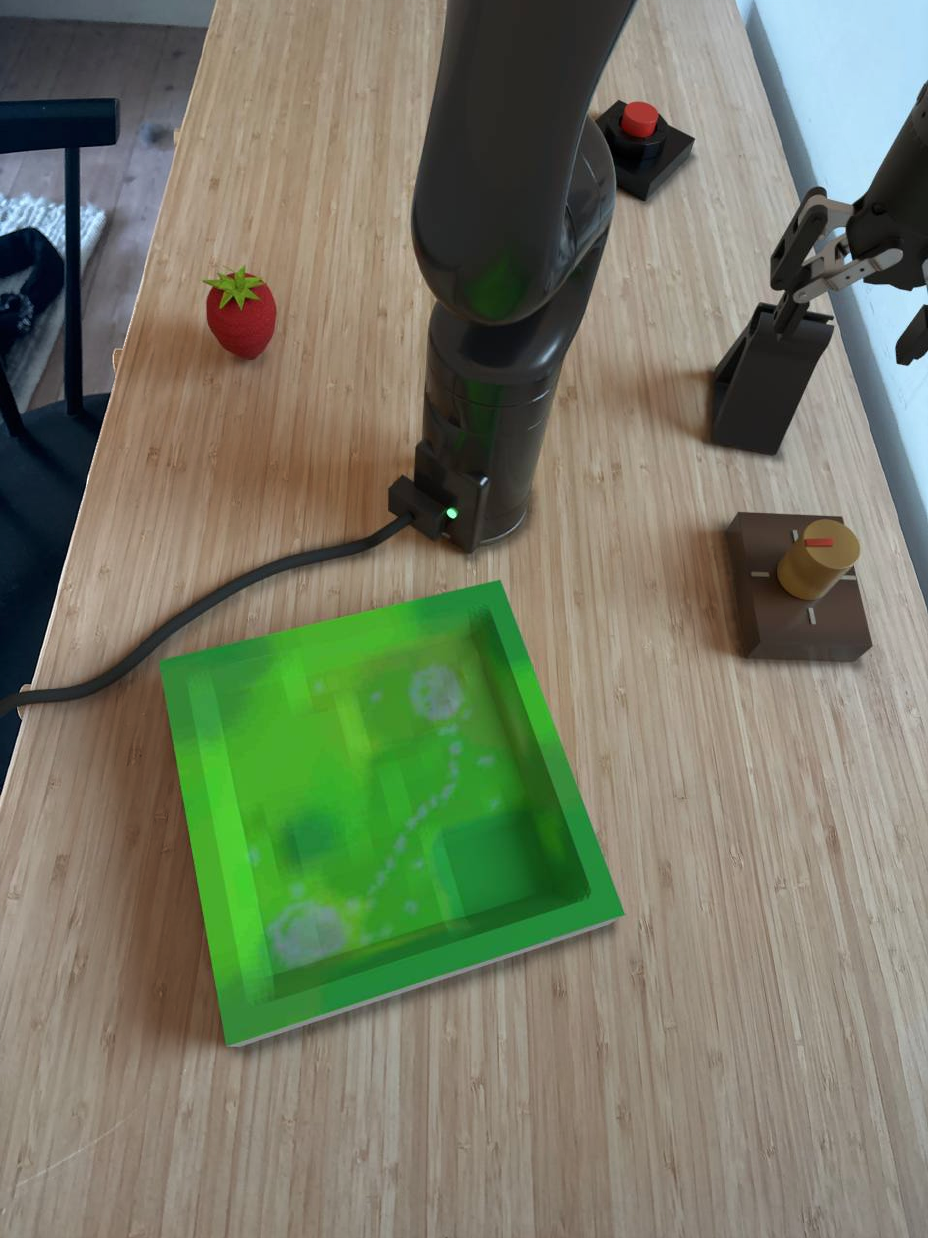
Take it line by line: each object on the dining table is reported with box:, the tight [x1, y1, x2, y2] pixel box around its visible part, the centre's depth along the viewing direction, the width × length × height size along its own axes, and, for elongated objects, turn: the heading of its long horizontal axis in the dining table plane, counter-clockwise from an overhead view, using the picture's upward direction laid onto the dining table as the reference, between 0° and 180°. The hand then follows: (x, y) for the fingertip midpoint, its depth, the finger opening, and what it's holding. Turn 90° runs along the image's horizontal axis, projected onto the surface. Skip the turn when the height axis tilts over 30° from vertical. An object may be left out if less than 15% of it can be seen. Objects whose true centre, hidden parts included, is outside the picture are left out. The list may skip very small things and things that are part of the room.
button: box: [621, 100, 659, 137], centre depth 92 cm, size 4×4×2 cm
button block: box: [594, 99, 696, 202], centre depth 94 cm, size 10×10×4 cm
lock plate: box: [725, 511, 874, 663], centre depth 71 cm, size 12×9×3 cm
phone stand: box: [710, 301, 835, 456], centre depth 75 cm, size 9×6×12 cm, turn 170°
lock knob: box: [777, 519, 861, 600], centre depth 67 cm, size 4×4×5 cm
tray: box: [158, 579, 626, 1048], centre depth 59 cm, size 25×25×5 cm
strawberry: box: [202, 263, 278, 361], centre depth 74 cm, size 6×8×10 cm
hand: (841, 345), depth 61 cm, fingers open, 8 cm apart
